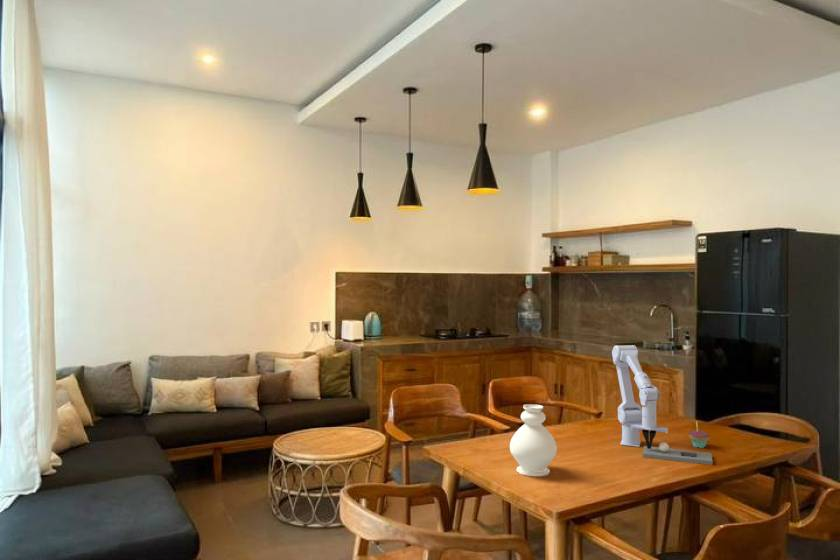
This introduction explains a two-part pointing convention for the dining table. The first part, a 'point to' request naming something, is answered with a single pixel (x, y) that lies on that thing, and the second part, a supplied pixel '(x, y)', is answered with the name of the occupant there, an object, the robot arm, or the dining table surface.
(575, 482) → the dining table surface
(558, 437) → the dining table surface
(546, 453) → the decorative vase
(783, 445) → the dining table surface
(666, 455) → the board
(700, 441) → the cupcake
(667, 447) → the ball
